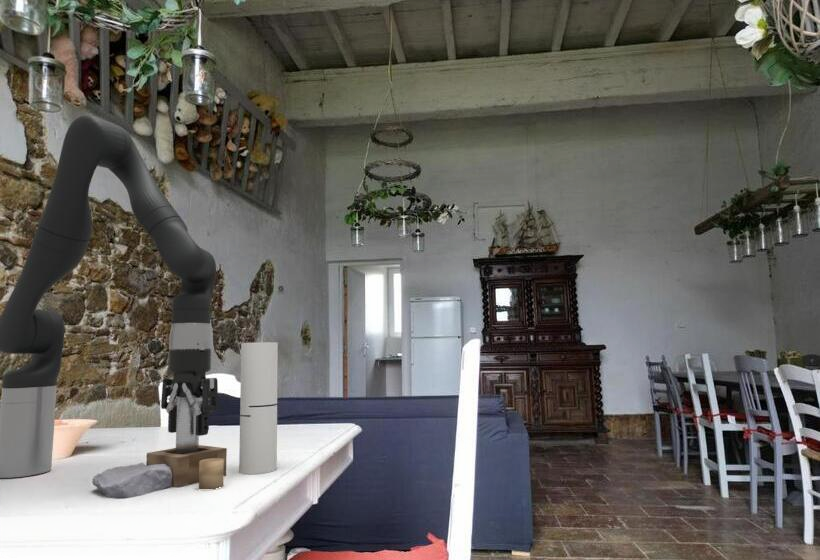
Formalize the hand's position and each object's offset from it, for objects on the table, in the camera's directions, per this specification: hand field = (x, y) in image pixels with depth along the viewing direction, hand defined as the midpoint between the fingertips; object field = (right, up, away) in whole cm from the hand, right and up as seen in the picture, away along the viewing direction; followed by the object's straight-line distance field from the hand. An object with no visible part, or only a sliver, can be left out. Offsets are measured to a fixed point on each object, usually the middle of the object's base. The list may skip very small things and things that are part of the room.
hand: (187, 433), depth 100 cm
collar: (0, -8, -1) cm, 8 cm away
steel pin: (0, -8, -1) cm, 8 cm away
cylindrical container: (+12, -9, +4) cm, 15 cm away
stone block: (-7, -8, -8) cm, 13 cm away
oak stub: (+7, -7, -8) cm, 13 cm away
